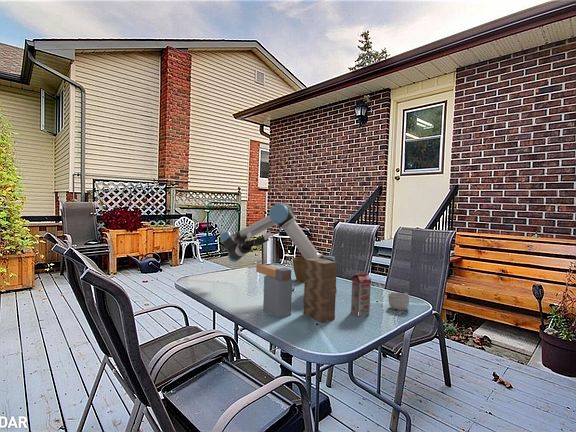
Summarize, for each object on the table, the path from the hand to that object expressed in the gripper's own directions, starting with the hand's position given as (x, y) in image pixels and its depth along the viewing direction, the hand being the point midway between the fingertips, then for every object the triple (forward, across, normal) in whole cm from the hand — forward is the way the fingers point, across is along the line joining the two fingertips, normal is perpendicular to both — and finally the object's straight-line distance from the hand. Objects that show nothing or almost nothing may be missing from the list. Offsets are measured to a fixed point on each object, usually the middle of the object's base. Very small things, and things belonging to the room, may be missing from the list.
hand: (260, 233), depth 188 cm
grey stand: (+2, +5, -45) cm, 45 cm away
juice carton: (+24, -30, -57) cm, 69 cm away
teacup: (+29, -56, -60) cm, 88 cm away
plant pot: (-38, -51, -22) cm, 67 cm away
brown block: (+7, +5, -27) cm, 28 cm away
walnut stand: (+16, -9, -53) cm, 56 cm away
